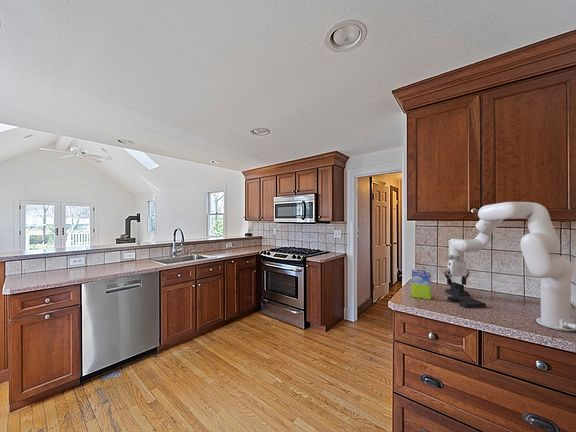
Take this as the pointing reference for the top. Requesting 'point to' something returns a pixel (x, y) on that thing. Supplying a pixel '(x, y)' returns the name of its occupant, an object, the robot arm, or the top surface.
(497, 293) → the top surface
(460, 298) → the base pad
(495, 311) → the top surface
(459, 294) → the pad
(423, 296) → the box
